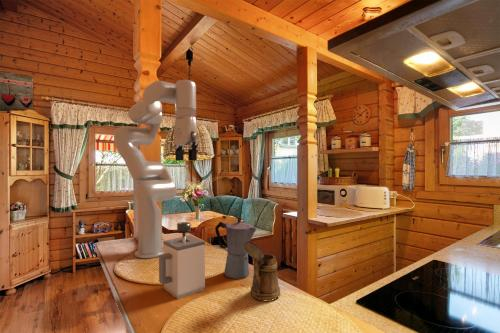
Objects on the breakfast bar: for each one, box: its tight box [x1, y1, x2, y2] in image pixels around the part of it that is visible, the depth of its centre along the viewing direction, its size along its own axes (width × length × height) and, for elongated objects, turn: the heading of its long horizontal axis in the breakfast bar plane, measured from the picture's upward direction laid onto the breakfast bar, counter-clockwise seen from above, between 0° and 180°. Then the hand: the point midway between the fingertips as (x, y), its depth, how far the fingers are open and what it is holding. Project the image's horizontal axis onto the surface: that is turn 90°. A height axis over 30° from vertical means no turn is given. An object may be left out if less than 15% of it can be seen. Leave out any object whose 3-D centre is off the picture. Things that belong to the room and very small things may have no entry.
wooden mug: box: [244, 240, 281, 301], centre depth 82 cm, size 9×14×18 cm, turn 146°
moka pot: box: [214, 217, 258, 280], centre depth 98 cm, size 10×15×20 cm, turn 78°
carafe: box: [158, 235, 206, 300], centre depth 86 cm, size 9×12×15 cm
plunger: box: [176, 221, 191, 243], centre depth 87 cm, size 6×6×16 cm
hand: (185, 160), depth 105 cm, fingers open, 9 cm apart
